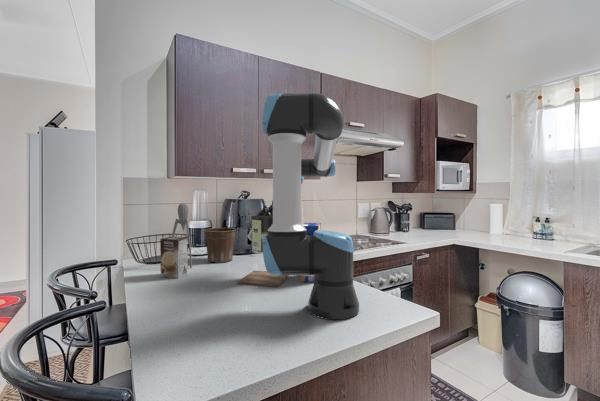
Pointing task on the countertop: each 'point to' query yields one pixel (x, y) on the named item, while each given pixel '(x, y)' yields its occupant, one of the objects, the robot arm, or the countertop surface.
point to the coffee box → (173, 257)
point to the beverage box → (310, 230)
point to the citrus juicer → (183, 223)
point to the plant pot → (220, 244)
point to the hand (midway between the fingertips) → (259, 239)
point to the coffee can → (260, 231)
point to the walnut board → (262, 279)
